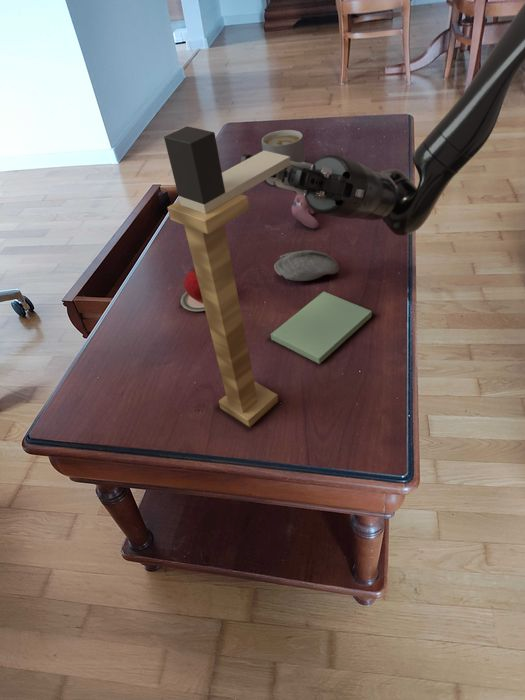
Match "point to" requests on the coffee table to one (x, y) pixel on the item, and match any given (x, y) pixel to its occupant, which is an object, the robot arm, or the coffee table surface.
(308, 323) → the pale green rectangular panel
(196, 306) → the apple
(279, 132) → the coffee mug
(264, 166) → the wooden mallet
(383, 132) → the coffee table surface
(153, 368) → the coffee table surface
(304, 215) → the video game controller
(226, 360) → the stand
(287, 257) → the seashell
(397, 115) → the coffee table surface
